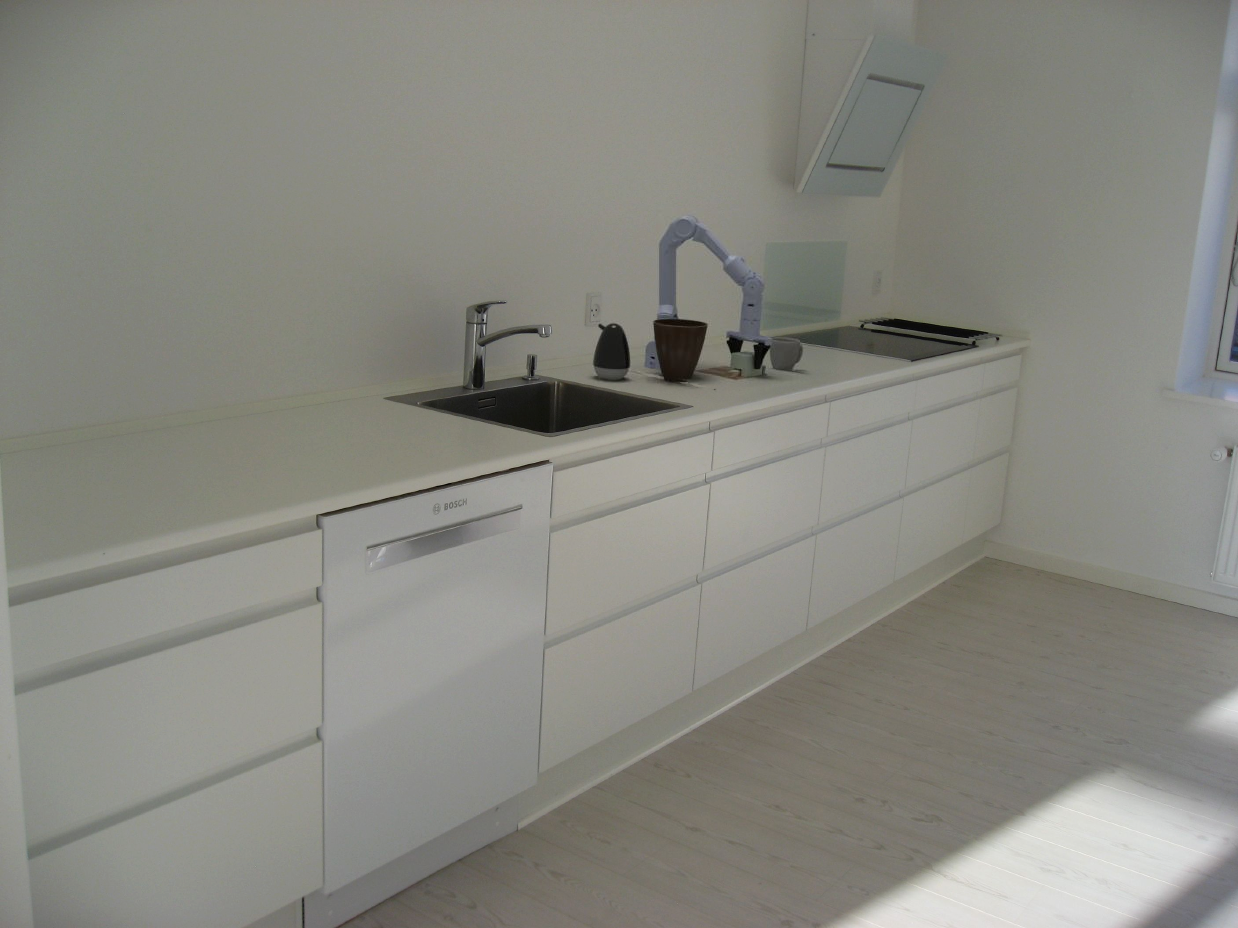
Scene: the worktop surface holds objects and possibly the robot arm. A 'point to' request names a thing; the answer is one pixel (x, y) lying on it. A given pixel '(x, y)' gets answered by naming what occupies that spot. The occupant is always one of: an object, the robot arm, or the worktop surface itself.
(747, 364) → the cabinet block
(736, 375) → the cleat board
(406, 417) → the worktop surface
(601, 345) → the pump dispenser
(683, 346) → the plant pot
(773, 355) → the mug
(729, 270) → the robot arm
